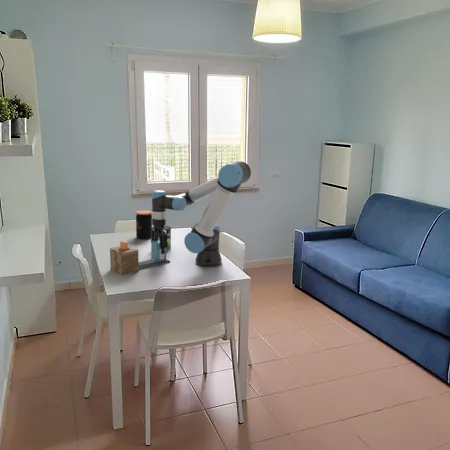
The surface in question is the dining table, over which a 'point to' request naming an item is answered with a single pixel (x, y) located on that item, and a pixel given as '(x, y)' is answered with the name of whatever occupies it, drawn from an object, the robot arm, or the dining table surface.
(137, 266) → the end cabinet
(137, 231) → the coffee jar
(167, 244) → the coffee can
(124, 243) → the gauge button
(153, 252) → the block
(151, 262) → the rail
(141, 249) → the dining table surface
